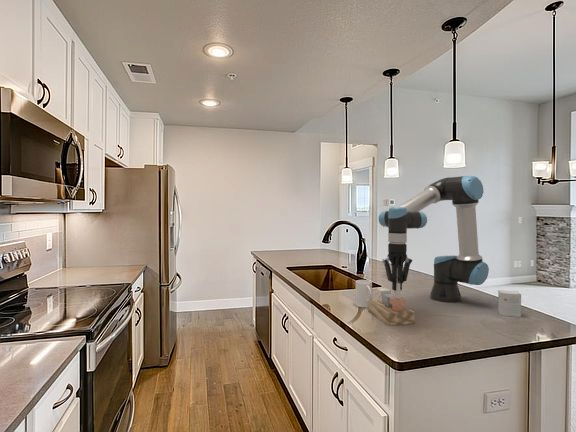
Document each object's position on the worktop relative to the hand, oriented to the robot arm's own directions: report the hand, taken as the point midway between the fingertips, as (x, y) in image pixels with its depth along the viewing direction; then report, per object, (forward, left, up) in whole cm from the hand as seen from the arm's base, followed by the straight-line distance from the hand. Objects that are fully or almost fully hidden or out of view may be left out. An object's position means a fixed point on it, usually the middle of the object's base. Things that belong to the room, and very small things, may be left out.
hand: (396, 297), depth 151 cm
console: (0, -7, -10) cm, 12 cm away
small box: (-55, 0, -11) cm, 56 cm away
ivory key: (0, -13, -6) cm, 15 cm away
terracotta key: (0, 0, -7) cm, 7 cm away
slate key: (0, -7, -8) cm, 10 cm away
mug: (+4, -26, -11) cm, 28 cm away
